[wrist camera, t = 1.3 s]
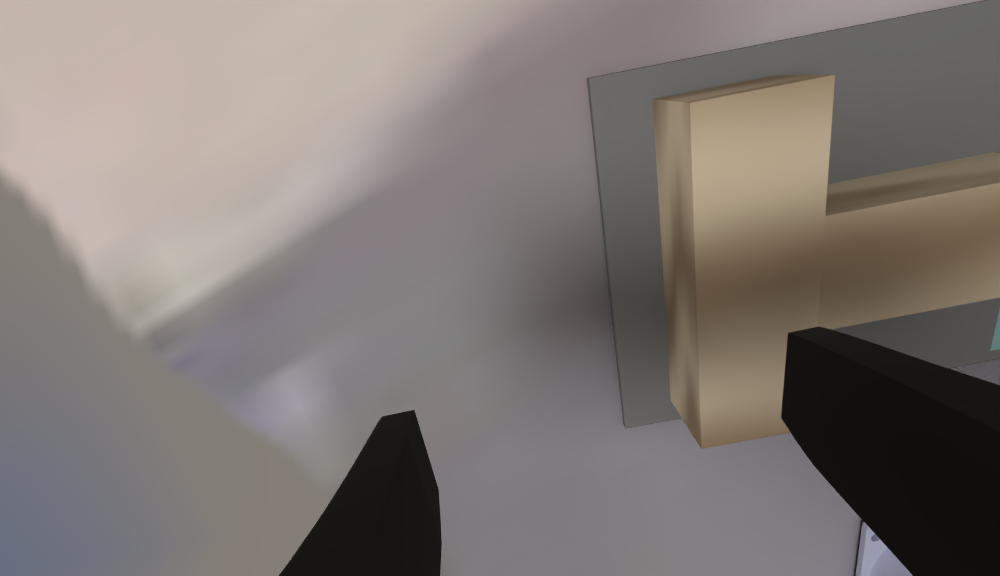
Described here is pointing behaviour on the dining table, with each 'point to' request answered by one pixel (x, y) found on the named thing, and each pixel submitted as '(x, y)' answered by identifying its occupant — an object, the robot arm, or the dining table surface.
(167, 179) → the dining table surface
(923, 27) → the push mat
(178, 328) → the dining table surface
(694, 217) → the t block
